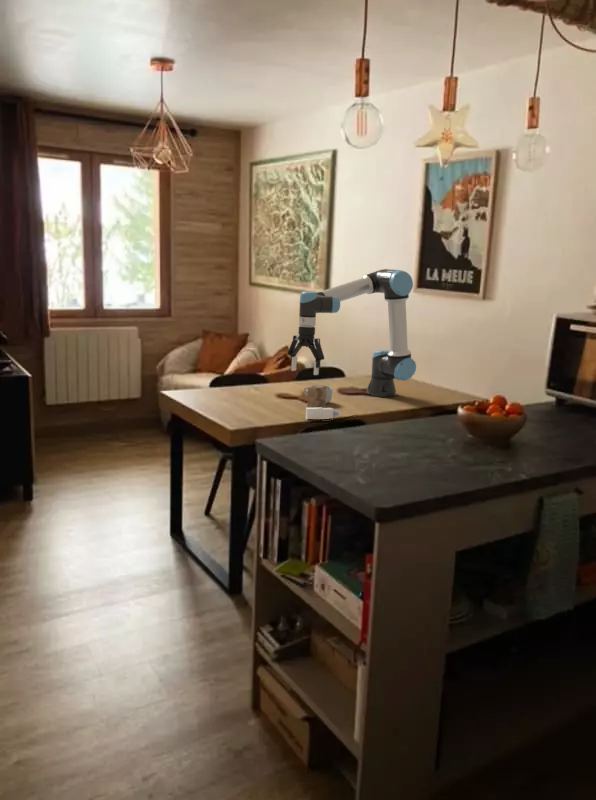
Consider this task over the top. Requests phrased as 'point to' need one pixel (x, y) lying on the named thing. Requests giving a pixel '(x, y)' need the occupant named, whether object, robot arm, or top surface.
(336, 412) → the felt mat
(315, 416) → the napkin holder
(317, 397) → the walnut slab
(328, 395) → the teacup
